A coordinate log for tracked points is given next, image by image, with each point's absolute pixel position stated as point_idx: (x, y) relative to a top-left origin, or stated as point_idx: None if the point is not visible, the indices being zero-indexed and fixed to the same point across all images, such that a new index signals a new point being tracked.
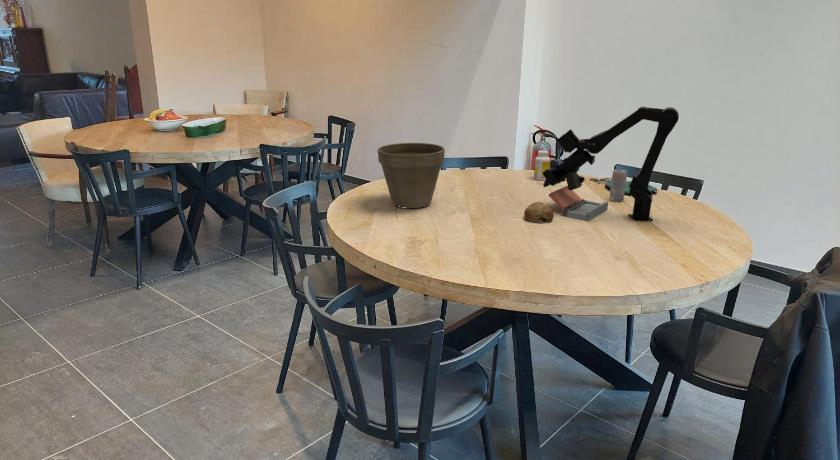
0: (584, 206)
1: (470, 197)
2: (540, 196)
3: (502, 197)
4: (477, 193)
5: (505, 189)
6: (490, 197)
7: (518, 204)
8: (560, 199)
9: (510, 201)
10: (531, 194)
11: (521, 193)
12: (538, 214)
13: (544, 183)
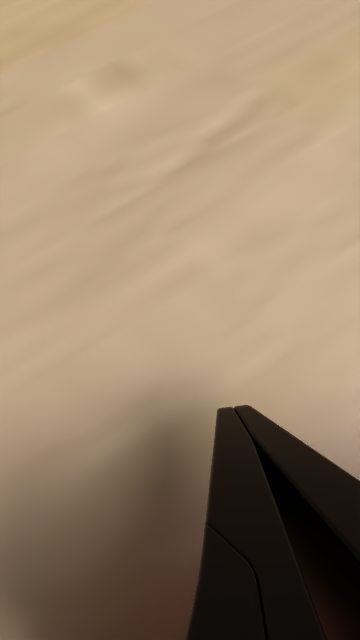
0: None
1: (4, 23)
2: (356, 282)
3: (138, 134)
4: (107, 11)
5: (301, 64)
6: (85, 90)
7: (62, 288)
8: None
9: (91, 212)
10: (344, 216)
11: (309, 163)
12: None
13: (214, 442)
